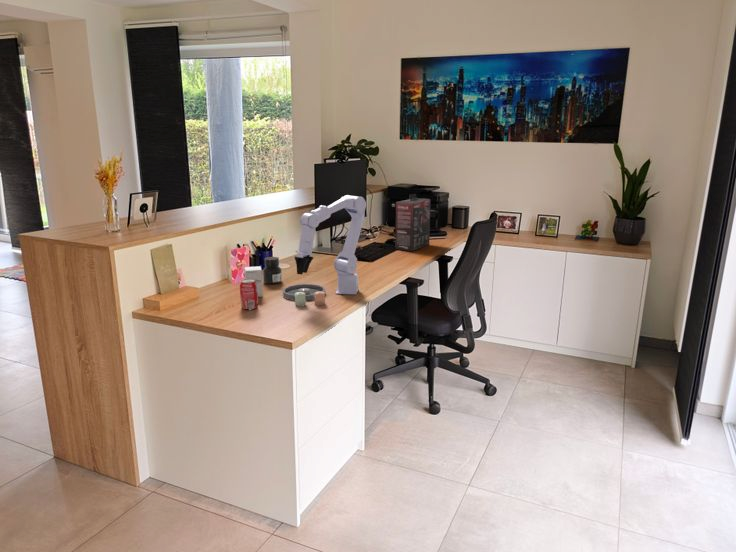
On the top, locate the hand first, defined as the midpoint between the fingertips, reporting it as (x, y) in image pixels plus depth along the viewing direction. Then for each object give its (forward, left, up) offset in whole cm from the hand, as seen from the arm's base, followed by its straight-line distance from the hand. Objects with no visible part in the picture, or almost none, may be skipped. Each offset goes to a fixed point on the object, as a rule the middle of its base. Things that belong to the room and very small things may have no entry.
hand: (301, 273), depth 235 cm
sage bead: (0, +2, -13) cm, 13 cm away
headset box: (-42, -121, -13) cm, 128 cm away
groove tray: (+2, -13, -13) cm, 18 cm away
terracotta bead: (-8, 0, -13) cm, 15 cm away
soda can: (+20, +9, -13) cm, 26 cm away
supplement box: (+24, -9, -13) cm, 29 cm away
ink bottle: (+22, -31, -13) cm, 40 cm away
